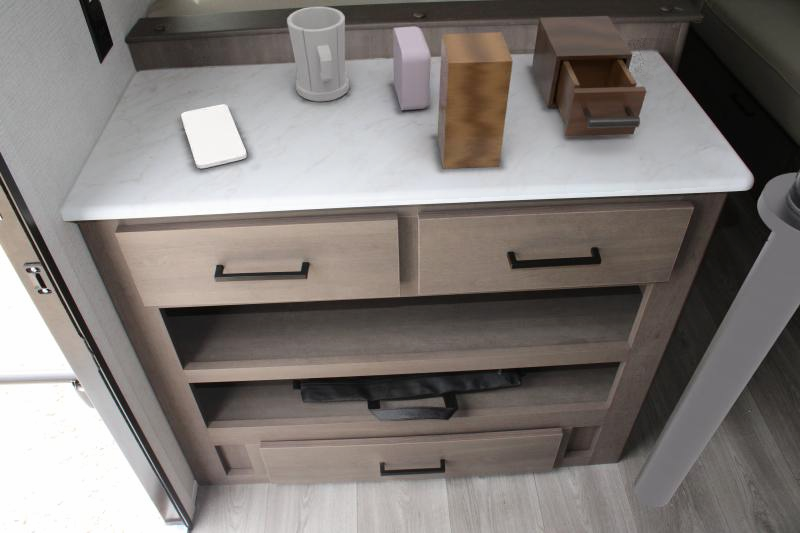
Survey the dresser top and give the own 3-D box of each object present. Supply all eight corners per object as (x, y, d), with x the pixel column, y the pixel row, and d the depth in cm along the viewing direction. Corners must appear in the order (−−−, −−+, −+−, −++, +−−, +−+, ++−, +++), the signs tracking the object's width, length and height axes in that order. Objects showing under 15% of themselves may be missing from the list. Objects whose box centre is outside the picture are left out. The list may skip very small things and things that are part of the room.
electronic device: (431, 111, 100) (433, 51, 93) (402, 114, 99) (402, 54, 92) (421, 80, 107) (422, 22, 100) (393, 82, 106) (393, 24, 99)
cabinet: (618, 106, 100) (632, 54, 94) (547, 108, 100) (556, 56, 94) (596, 66, 110) (608, 15, 104) (531, 68, 110) (539, 17, 103)
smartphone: (196, 166, 89) (179, 112, 98) (197, 170, 89) (181, 116, 99) (247, 154, 91) (226, 103, 100) (248, 159, 91) (227, 107, 101)
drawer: (642, 151, 90) (656, 106, 85) (571, 153, 90) (581, 108, 85) (610, 91, 102) (621, 49, 97) (547, 93, 102) (555, 51, 97)
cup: (368, 90, 105) (365, 18, 96) (330, 113, 100) (323, 40, 91) (322, 70, 109) (315, 1, 101) (284, 91, 104) (273, 20, 96)
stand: (490, 135, 95) (501, 32, 84) (499, 166, 89) (512, 60, 78) (437, 137, 95) (441, 33, 83) (443, 168, 89) (448, 62, 78)
